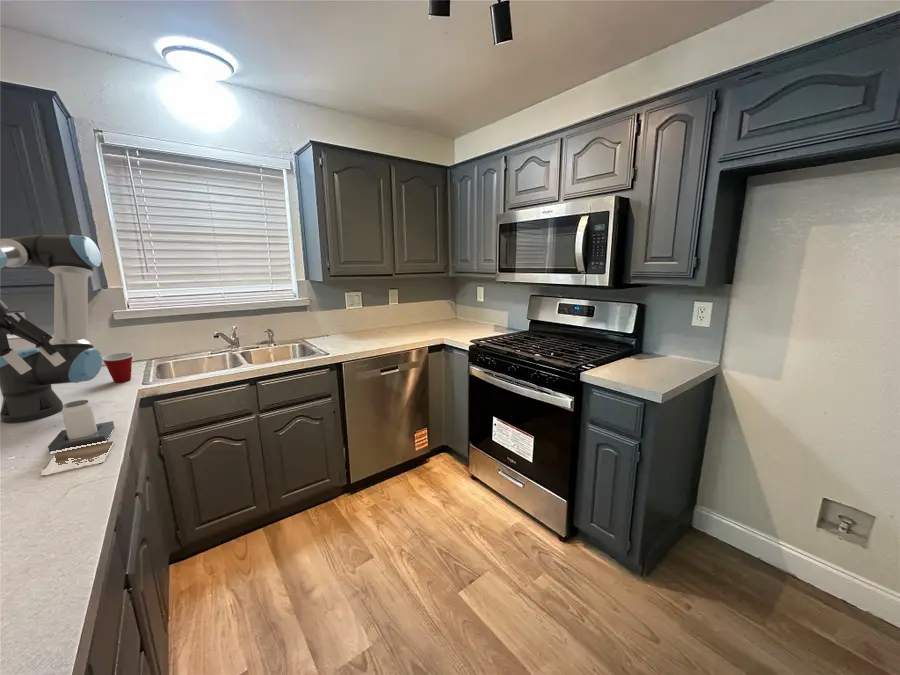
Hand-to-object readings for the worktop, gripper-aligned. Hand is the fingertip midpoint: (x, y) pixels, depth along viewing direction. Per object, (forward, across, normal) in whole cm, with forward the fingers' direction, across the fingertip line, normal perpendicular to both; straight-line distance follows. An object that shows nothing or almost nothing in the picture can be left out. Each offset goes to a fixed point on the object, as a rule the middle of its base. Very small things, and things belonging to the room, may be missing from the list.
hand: (43, 367), depth 109 cm
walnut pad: (+22, +12, -16) cm, 30 cm away
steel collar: (+23, +1, -7) cm, 24 cm away
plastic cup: (+30, -43, +43) cm, 68 cm away
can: (+23, +1, -7) cm, 24 cm away
